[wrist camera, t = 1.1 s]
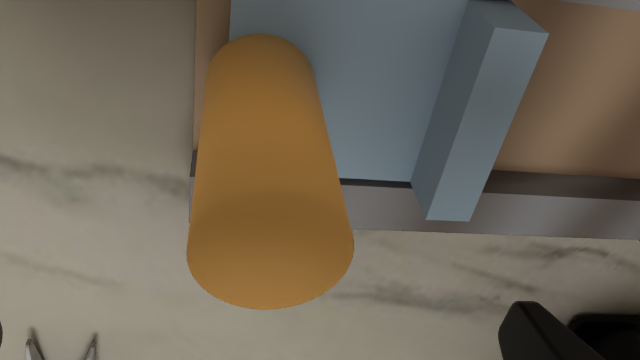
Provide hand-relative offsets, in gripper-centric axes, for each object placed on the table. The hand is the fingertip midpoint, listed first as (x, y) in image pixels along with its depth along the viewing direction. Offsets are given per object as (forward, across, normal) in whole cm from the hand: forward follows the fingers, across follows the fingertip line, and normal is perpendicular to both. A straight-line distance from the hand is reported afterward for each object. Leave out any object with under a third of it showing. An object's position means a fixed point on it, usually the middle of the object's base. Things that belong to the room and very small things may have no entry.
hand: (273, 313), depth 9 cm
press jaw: (+10, -3, 0) cm, 10 cm away
